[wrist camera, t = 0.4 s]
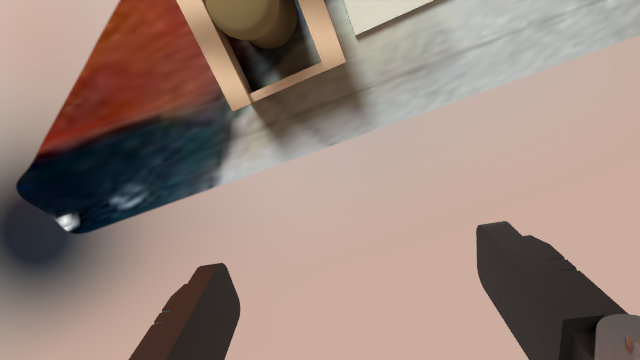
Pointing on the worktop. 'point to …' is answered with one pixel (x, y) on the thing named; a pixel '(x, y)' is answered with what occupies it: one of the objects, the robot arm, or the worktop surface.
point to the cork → (255, 20)
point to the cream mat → (377, 11)
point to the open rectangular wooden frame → (229, 67)
